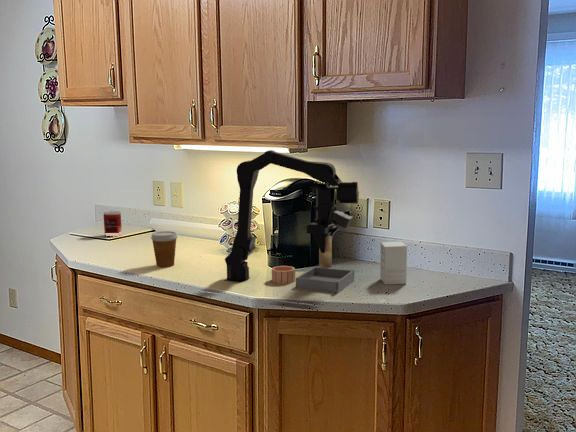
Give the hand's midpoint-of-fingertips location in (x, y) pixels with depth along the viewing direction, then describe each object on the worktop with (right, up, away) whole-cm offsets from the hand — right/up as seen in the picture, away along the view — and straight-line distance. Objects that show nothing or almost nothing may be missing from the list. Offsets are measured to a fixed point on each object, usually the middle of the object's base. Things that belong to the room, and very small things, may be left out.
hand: (325, 251), depth 198 cm
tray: (0, -11, +2) cm, 11 cm away
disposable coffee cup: (-57, -7, +30) cm, 65 cm away
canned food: (-93, +2, +89) cm, 129 cm away
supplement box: (+22, -10, +5) cm, 25 cm away
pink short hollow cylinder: (-13, -10, +5) cm, 18 cm away
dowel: (0, -5, +1) cm, 5 cm away
